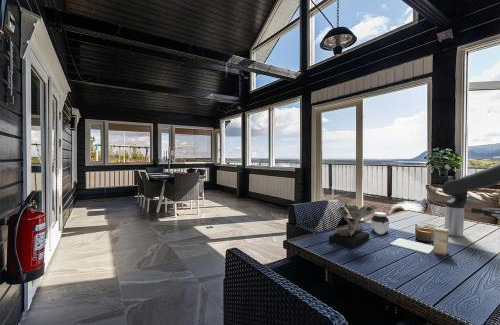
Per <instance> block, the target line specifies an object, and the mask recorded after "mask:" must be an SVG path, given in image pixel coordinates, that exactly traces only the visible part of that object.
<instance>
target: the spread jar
mask: <svg viewBox="0 0 500 325" xmlns="http://www.w3.org/2000/svg"><path fill="white" fill-rule="evenodd" d="M373 214H374V215H372V217H371V219H370V227H371V230H372V231H374V232H375V233H376V234H378V235H384V234H385V233H387V232H388V231H389V229H390V220H389V218H388V216H387V213H386V212H381V211H374V212H373Z"/></svg>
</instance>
